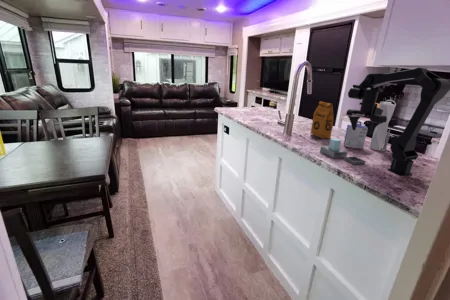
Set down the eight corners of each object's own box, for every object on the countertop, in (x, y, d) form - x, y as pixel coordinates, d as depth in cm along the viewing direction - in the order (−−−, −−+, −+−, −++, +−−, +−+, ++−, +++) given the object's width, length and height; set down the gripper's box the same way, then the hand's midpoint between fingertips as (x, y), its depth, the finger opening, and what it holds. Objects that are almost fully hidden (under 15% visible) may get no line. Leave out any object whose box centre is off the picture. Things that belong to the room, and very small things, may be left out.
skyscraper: (382, 152, 127) (397, 100, 118) (366, 149, 133) (379, 98, 123) (386, 149, 133) (400, 99, 124) (370, 146, 138) (383, 98, 129)
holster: (364, 163, 110) (365, 161, 109) (354, 165, 108) (355, 162, 107) (354, 159, 115) (354, 156, 115) (344, 160, 113) (344, 157, 113)
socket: (346, 157, 117) (347, 151, 116) (333, 158, 115) (334, 152, 114) (332, 150, 126) (333, 144, 125) (319, 151, 124) (321, 145, 123)
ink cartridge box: (361, 146, 136) (367, 121, 131) (363, 149, 131) (369, 123, 126) (342, 144, 139) (348, 120, 134) (344, 146, 134) (349, 121, 129)
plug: (337, 155, 119) (341, 140, 117) (332, 155, 118) (335, 140, 116) (333, 153, 122) (336, 138, 120) (327, 153, 121) (330, 138, 119)
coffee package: (319, 139, 146) (326, 103, 139) (308, 134, 157) (313, 100, 150) (333, 138, 149) (340, 104, 142) (320, 133, 160) (326, 101, 153)
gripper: (400, 104, 106) (390, 137, 111) (365, 98, 123) (358, 127, 128) (381, 104, 103) (372, 138, 108) (348, 98, 119) (342, 128, 125)
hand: (361, 132), depth 117 cm, fingers open, 9 cm apart
